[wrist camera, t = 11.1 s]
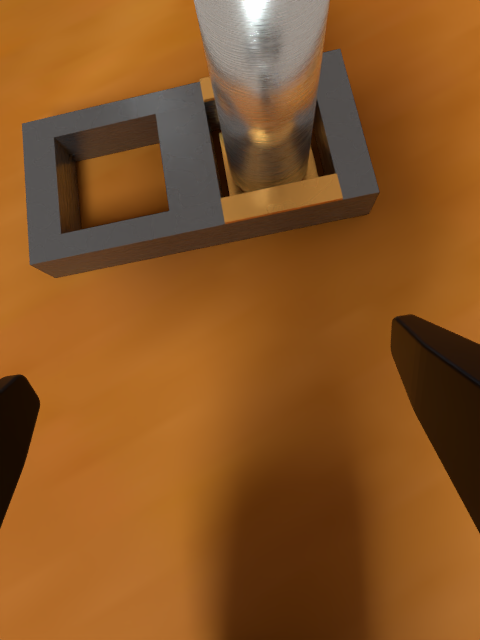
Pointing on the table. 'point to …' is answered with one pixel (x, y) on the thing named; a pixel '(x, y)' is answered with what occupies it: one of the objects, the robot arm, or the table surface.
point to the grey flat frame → (186, 177)
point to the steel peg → (264, 83)
